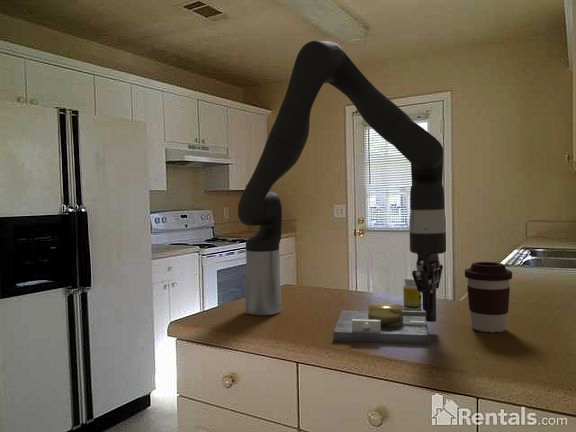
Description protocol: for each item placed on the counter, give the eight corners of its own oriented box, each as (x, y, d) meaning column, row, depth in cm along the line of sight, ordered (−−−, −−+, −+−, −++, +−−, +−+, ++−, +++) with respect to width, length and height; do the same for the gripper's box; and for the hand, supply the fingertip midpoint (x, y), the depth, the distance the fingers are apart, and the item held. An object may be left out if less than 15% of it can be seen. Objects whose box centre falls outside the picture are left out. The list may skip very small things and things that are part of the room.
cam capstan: (367, 323, 103) (366, 286, 103) (368, 314, 111) (368, 279, 110) (438, 325, 100) (437, 287, 99) (434, 316, 108) (434, 280, 107)
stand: (333, 341, 99) (333, 321, 99) (342, 318, 118) (342, 301, 118) (430, 345, 95) (429, 324, 94) (423, 320, 113) (423, 302, 113)
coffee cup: (509, 337, 98) (509, 268, 98) (461, 331, 103) (460, 265, 103) (515, 326, 107) (514, 261, 106) (469, 321, 112) (469, 260, 111)
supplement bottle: (422, 310, 123) (421, 279, 123) (404, 310, 124) (403, 279, 124) (420, 306, 128) (420, 276, 128) (403, 306, 129) (402, 276, 129)
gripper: (434, 233, 91) (436, 319, 92) (454, 228, 102) (455, 306, 103) (398, 232, 96) (400, 314, 96) (421, 228, 106) (422, 302, 107)
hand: (428, 310), depth 99 cm, fingers closed
